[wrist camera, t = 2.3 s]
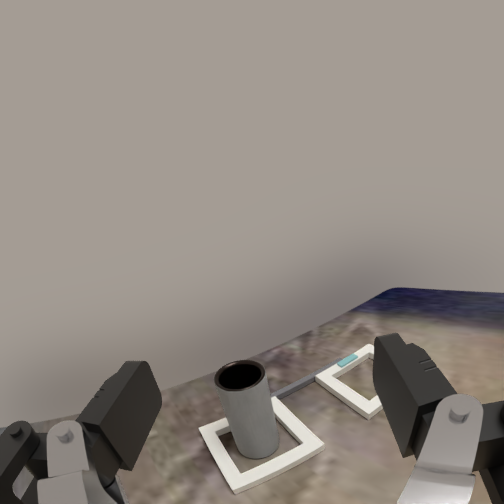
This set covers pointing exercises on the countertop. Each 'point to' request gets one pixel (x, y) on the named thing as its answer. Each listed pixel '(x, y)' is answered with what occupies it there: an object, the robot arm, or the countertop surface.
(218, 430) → the socket
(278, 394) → the thin gray bar
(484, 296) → the countertop surface
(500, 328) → the countertop surface
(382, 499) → the countertop surface
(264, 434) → the planter
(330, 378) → the socket
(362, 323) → the countertop surface
